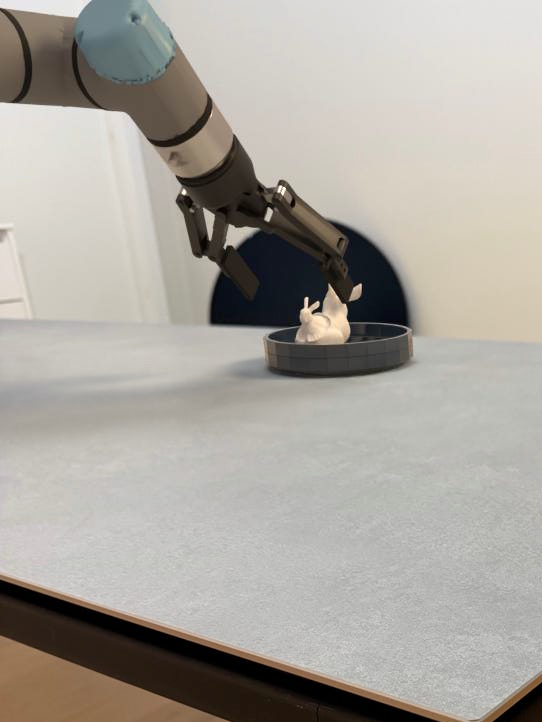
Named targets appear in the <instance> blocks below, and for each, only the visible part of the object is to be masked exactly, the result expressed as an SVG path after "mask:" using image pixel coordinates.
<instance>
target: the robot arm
mask: <svg viewBox="0 0 542 722" xmlns="http://www.w3.org/2000/svg"><path fill="white" fill-rule="evenodd" d="M0 103H1V104H2V103H3V104H17V105H30V106H48V107H49V106H50V107H63V108H80V109H92V110H101V111H102V110H103V111H107V112H118V113H119V112H120V113H125V114H127V116H129V118H130V119H131V121H133V123H134V124H135V126H136V127H137V128H138V129H139V131H140V132H141V134H143V135H144V137H145V139H146V140H147V142H149V144H151V146H152V147H153V149H154V150H155V152H156V153H157V154H158V156H159V157H160V158H161V159H162V161H163V162H164V164H165V165H166V167H168V169H169V170H170V172H171V173H172V174H174V177H175V179H176V180H177V182H178V183H179V184H180V186H181V188H180V189H179V191H178V194H177V196H176V198H175V201H174V202H175V204H176V206H177V207H178V209H179V210H180V211H181V213H182V215H183V219H184V223H185V227H186V233H187V237H188V241H189V246H190V249H191V254H192V255H193V256H194V257H195V258H197V259H202V258H203V256H204V257H207V259H208V260H209V261H211V262H212V263H215V264H216V265H217V266H218V268H219V269H220V270H221V272H222V273H223V274H224V275H225V276H226V277H227V278H229V279H230V280H231V281H232V283H233V284H234V286H236V288H237V289H238V290H239V292H240V293H241V294H242V295H243V297H244V298H245V299H246V301H250V302H251V301H253V300H254V298H255V296H256V293H257V291H258V288H259V285H260V281H259V279H258V278H257V277H256V276H255V274H254V273H253V271H252V270H251V269H250V268H249V266H248V264H246V262H245V261H244V259H243V258H242V257H241V256H240V254H239V252H238V251H237V250H236V248H235V247H234V246H233V245H232V244H230V245H229V244H227V245H226V246H225V244H226V242H227V240H228V239H227V235H228V232H229V228H230V227H229V226H230V225H231V226H233V227H234V229H242V228H245V227H247V228H251V229H259V230H261V231H262V232H264V233H266V234H267V235H272V234H275V235H277V236H278V237H280V238H281V239H283V240H284V241H286V242H288V243H290V244H291V245H293V246H295V247H296V248H298V249H300V250H301V251H302V252H305V253H306V254H307V255H310V256H311V257H313V258H314V259H316V260H318V264H317V268H318V269H319V271H321V273H322V276H324V278H325V280H326V281H327V283H328V284H330V286H331V287H332V289H333V290H334V292H335V294H336V295H337V296H338V298H339V300H340V301H341V303H342V304H346V305H348V304H349V302H350V301H349V299H350V296H351V293H352V291H353V288H354V287H355V284H354V282H353V280H352V278H351V277H350V275H349V273H348V271H349V267H348V265H347V264H346V262H345V260H344V258H343V257H344V255H345V252H346V249H347V247H348V244H349V241H350V240H349V238H348V237H347V236H346V235H345V234H344V233H342V232H341V230H339V229H338V228H337V227H335V226H334V225H333V224H332V223H330V222H329V221H328V220H327V219H326V218H325V217H324V216H322V214H320V213H319V212H318V211H316V209H314V208H313V207H312V206H310V204H308V203H307V202H306V201H305V200H304V199H302V198H301V196H299V195H298V194H297V192H295V190H294V189H293V187H292V186H291V185H290V183H289V182H288V181H287V180H285V179H279V180H278V182H277V184H276V186H271V187H267V186H266V185H264V184H263V183H262V182H261V181H259V179H258V178H257V175H256V172H255V168H254V163H253V160H252V159H251V157H250V155H249V154H248V153H247V151H246V149H245V148H244V146H243V144H242V143H241V141H240V139H238V137H237V135H236V134H235V133H234V132H233V129H232V127H231V125H230V124H229V122H228V121H227V120H226V118H225V115H223V113H222V112H221V110H220V108H218V106H217V104H216V103H215V101H214V100H213V98H212V96H211V95H210V94H209V92H208V91H207V89H206V86H205V85H204V84H203V82H202V81H201V79H200V77H199V76H198V74H197V73H196V70H195V69H194V68H193V67H192V65H191V63H190V61H189V60H188V58H187V56H186V55H185V53H184V52H183V50H182V49H181V47H180V45H179V43H178V42H177V40H176V39H175V37H174V34H173V32H172V30H171V28H170V27H169V26H168V25H167V24H166V22H165V21H162V19H161V18H160V16H159V14H157V12H156V10H155V9H154V7H153V6H152V5H151V4H150V2H149V1H148V0H90V1H89V2H88V3H87V4H86V5H85V6H84V7H83V8H82V10H81V11H80V13H79V14H78V15H77V16H76V17H75V16H64V15H58V14H57V15H56V14H54V13H53V14H49V13H42V12H35V11H29V10H28V11H27V10H20V9H19V10H18V9H12V8H4V7H0ZM204 209H205V210H207V211H208V212H209V213H211V214H213V215H214V217H213V218H214V219H213V224H212V234H211V238H210V237H209V232H208V227H207V221H206V216H205V212H204ZM269 209H270V210H271V211H272V214H271V216H270V218H269V220H268V221H267V220H266V217H267V214H268V210H269Z"/></svg>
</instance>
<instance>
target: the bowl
mask: <svg viewBox="0 0 542 722" xmlns="http://www.w3.org/2000/svg"><path fill="white" fill-rule="evenodd" d="M348 323H349V326H350V335H349V338H348V339H347V341H346V342H345V343H341V344H296V343H295V339H296V335H297V332H298V330H299V328H301V325H299V326H292V327H285V328H281V329H277V330H274V331H273V330H272V331H270V332H267V333H266V334H264V335H263V337H262V341H263V349H264V350H263V351H264V357H265V363H266V364H267V365H268V366H270V367H272V368H275V369H278V370H279V371H281V372H283V373H286V374H291V375H298V376H309V377H341V376H357V375H365V374H373V373H378V372H379V373H380V372H384V371H388V370H392V369H396V368H397V367H400V366H402V365H403V364H404V363H405V362H407V361H410V360H411V359H413V358H414V343H413V342H414V341H413V340H414V339H413V331H412V328H410V327H408V326H405V325H401V324H396V323H395V324H394V323H382V322H348Z"/></svg>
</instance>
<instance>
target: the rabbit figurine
mask: <svg viewBox="0 0 542 722" xmlns="http://www.w3.org/2000/svg"><path fill="white" fill-rule="evenodd" d="M362 288H363V287H362V283H359V284H358V285H356V286H354V288H353V291H352V293H351V296H350V299H349V302H352V301H356V300H359V298H360V297H361V296H362ZM303 300H304V301H303V304H304V305H303V308H302V309H301V310H300V311H299V312H300V313H299V321H300V323H301V325H300V326H301V328H299V330H298V332H297V335H296V339H295V343H296V344H341V343H345V342H346V341H347V339H348V338H349V335H350V326H349V323H350V322H349V321H348V318H347V317H348V313H349V312H348V311H349V310H348V307H347V304H342V303H341V301H340V300H339V298H338V296H337V295H336V293H335V292H334V290H333V289H332V287H331V286H330V284H329V283H328V291H327V293H326V294H325V298H324V300H323V303H322V311H321V312H315V313H313V311H314V310H316V309H318V308H319V307H320V301H319V300H317V301H316V302H314V303H313V304H311V305H310V306H309V297H308V296H306V297H304V299H303ZM312 313H313V314H312Z"/></svg>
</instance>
